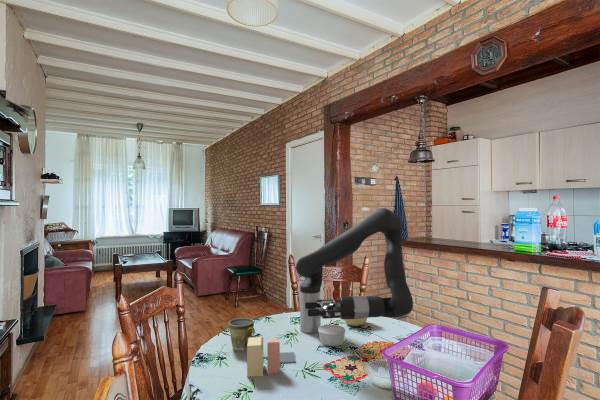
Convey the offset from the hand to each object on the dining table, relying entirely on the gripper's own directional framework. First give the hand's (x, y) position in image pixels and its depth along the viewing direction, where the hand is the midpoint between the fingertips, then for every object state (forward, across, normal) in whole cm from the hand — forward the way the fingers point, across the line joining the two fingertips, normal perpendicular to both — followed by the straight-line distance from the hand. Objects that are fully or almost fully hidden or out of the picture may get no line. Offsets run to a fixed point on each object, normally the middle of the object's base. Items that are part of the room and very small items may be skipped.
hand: (306, 309), depth 113 cm
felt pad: (+8, -10, +20) cm, 23 cm away
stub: (+11, 0, +20) cm, 23 cm away
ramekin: (-12, -23, +20) cm, 33 cm away
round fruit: (-28, -44, +20) cm, 56 cm away
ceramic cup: (+23, -20, +20) cm, 36 cm away
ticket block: (+17, 0, +20) cm, 26 cm away
